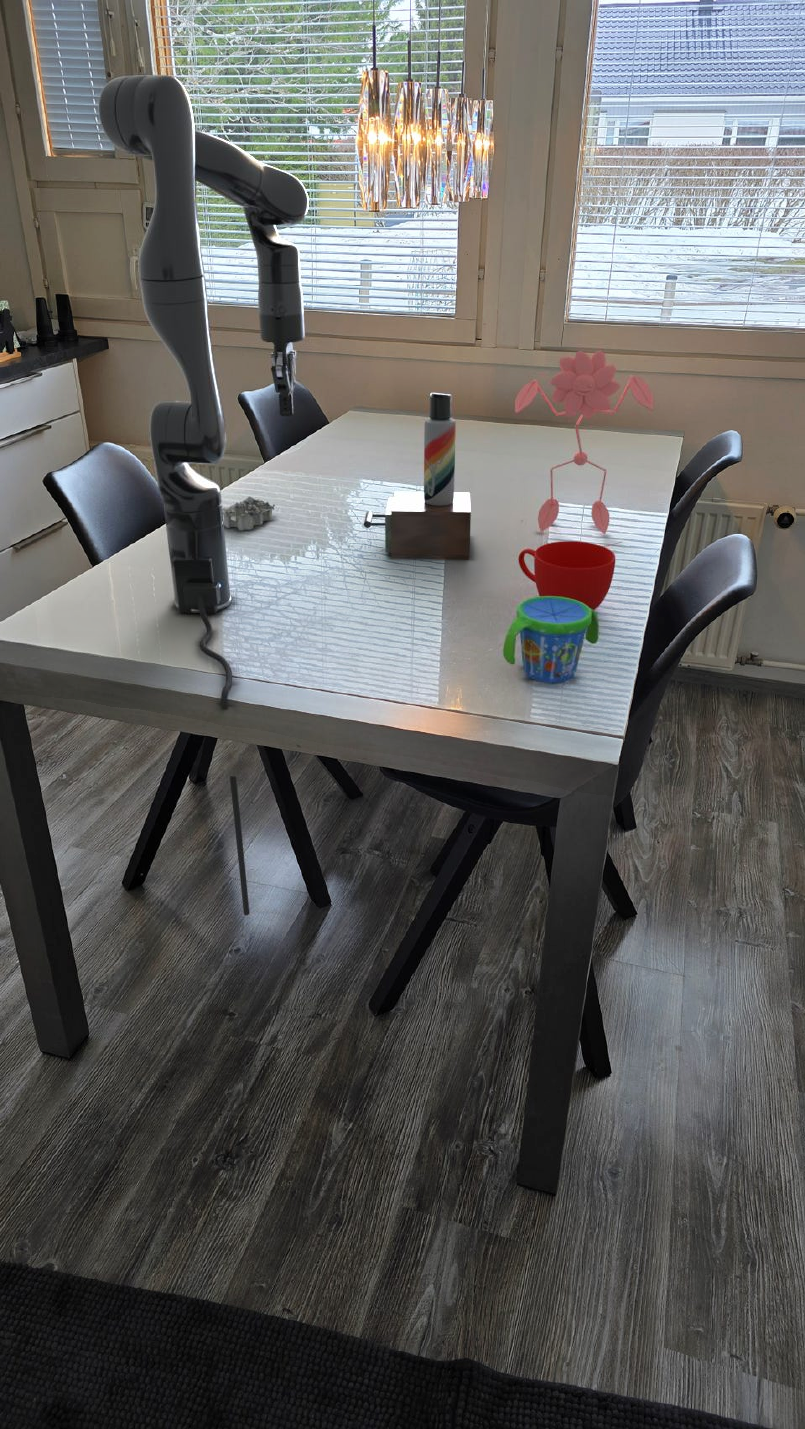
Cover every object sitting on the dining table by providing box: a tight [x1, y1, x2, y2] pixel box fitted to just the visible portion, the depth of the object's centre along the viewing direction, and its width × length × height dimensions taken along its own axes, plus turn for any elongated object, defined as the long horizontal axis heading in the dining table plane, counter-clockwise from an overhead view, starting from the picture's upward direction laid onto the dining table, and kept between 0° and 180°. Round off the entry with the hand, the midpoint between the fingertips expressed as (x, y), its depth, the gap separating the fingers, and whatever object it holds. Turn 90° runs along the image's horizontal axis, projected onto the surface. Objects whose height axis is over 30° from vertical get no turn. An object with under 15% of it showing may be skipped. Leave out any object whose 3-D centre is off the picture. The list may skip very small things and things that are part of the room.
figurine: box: [514, 350, 655, 548], centre depth 190 cm, size 15×26×35 cm, turn 80°
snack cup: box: [502, 596, 600, 684], centre depth 144 cm, size 16×10×10 cm
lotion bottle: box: [423, 392, 457, 506], centre depth 184 cm, size 6×6×20 cm
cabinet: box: [391, 491, 472, 560], centre depth 191 cm, size 15×12×9 cm
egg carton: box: [222, 496, 276, 531], centre depth 206 cm, size 11×8×4 cm
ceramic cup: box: [517, 540, 616, 611], centre depth 165 cm, size 13×17×10 cm
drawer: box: [363, 496, 394, 553], centre depth 191 cm, size 18×11×7 cm, turn 88°
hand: (286, 415), depth 177 cm, fingers closed
